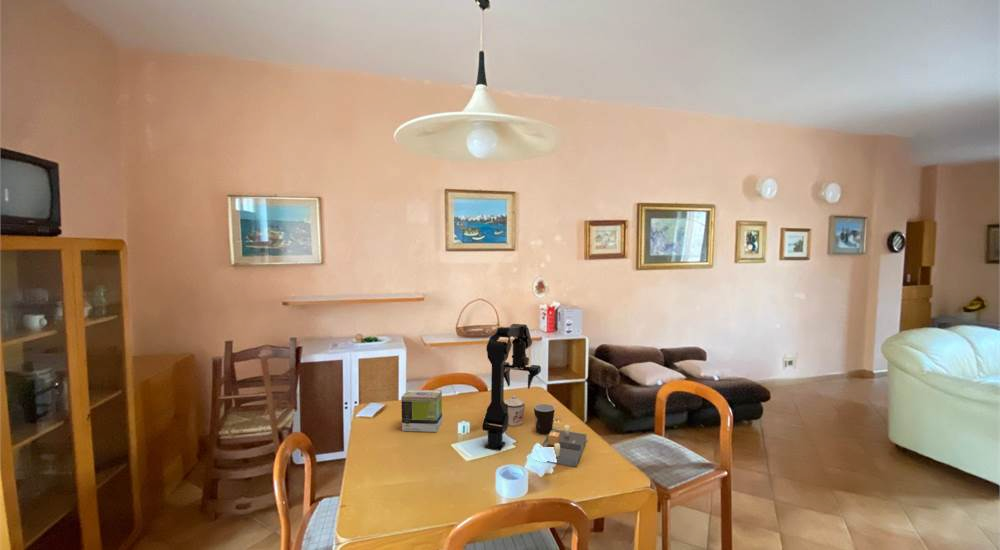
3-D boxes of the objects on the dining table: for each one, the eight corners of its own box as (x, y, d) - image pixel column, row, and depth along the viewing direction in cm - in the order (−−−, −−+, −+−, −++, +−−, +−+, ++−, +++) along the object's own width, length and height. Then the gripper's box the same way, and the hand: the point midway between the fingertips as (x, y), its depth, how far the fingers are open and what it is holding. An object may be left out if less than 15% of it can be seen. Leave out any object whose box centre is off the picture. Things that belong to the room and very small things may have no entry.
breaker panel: (576, 467, 143) (576, 459, 143) (537, 460, 148) (537, 452, 148) (586, 440, 164) (586, 434, 164) (551, 435, 169) (551, 428, 169)
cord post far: (568, 437, 161) (568, 427, 161) (563, 436, 162) (563, 426, 162) (569, 435, 163) (569, 425, 163) (564, 434, 164) (564, 424, 163)
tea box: (442, 423, 180) (442, 389, 180) (436, 433, 170) (436, 397, 170) (408, 421, 182) (408, 388, 181) (401, 431, 172) (400, 396, 171)
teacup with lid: (515, 428, 175) (515, 401, 174) (498, 422, 181) (499, 396, 180) (532, 420, 184) (532, 394, 183) (516, 414, 190) (516, 389, 189)
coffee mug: (553, 436, 167) (554, 412, 167) (532, 434, 169) (532, 410, 168) (555, 425, 179) (556, 402, 178) (535, 423, 180) (535, 400, 180)
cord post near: (559, 457, 145) (559, 445, 145) (553, 456, 146) (553, 445, 146) (560, 454, 147) (560, 443, 147) (554, 453, 148) (555, 442, 148)
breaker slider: (557, 446, 153) (557, 436, 153) (548, 444, 154) (548, 435, 154) (559, 441, 156) (560, 432, 156) (550, 440, 158) (550, 431, 158)
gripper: (544, 350, 188) (543, 384, 188) (505, 347, 194) (505, 380, 195) (537, 355, 177) (537, 391, 178) (496, 352, 184) (496, 386, 184)
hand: (518, 387), depth 184 cm, fingers open, 9 cm apart
